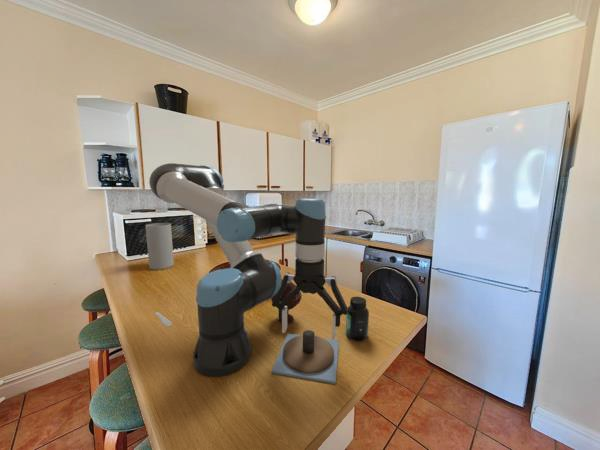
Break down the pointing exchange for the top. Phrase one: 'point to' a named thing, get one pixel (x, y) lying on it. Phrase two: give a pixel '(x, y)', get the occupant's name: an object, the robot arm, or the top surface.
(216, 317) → the robot arm
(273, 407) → the top surface
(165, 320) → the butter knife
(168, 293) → the top surface
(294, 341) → the walnut lid
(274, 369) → the slate mat
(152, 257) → the cylinder vase
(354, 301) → the supplement bottle
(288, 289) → the ice cream bowl
